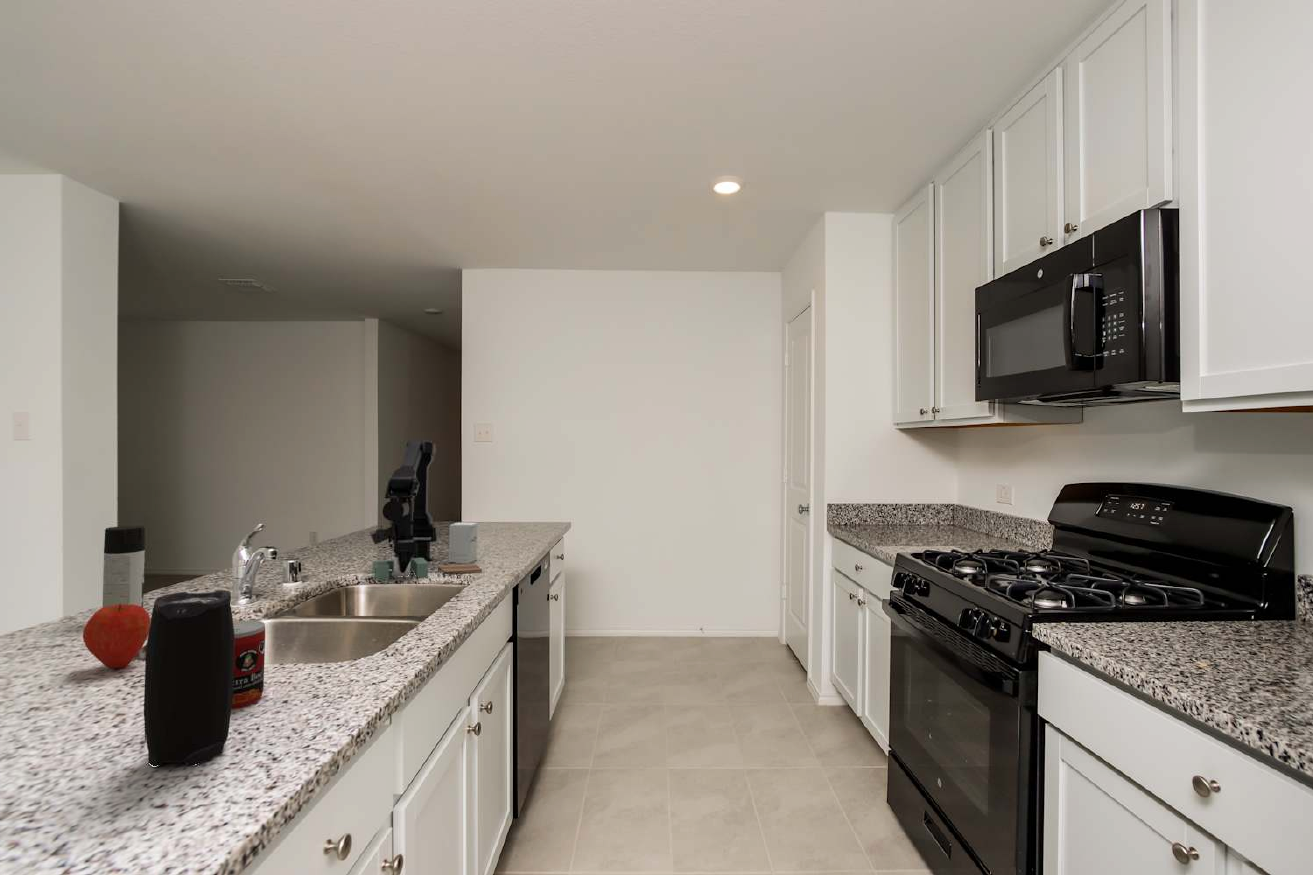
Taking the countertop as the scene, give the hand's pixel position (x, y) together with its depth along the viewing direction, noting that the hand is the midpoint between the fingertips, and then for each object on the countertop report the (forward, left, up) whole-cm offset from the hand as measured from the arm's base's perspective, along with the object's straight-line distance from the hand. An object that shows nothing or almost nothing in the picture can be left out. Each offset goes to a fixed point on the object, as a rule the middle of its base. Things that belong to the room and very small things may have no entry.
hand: (401, 570), depth 184 cm
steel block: (0, 0, -2) cm, 2 cm away
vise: (-3, -1, -2) cm, 3 cm away
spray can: (+27, -58, -2) cm, 64 cm away
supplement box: (-16, +21, -2) cm, 26 cm away
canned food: (+85, -33, -2) cm, 91 cm away
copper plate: (-1, +17, -2) cm, 17 cm away
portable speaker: (+102, -36, -2) cm, 108 cm away
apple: (+61, -52, -2) cm, 80 cm away
